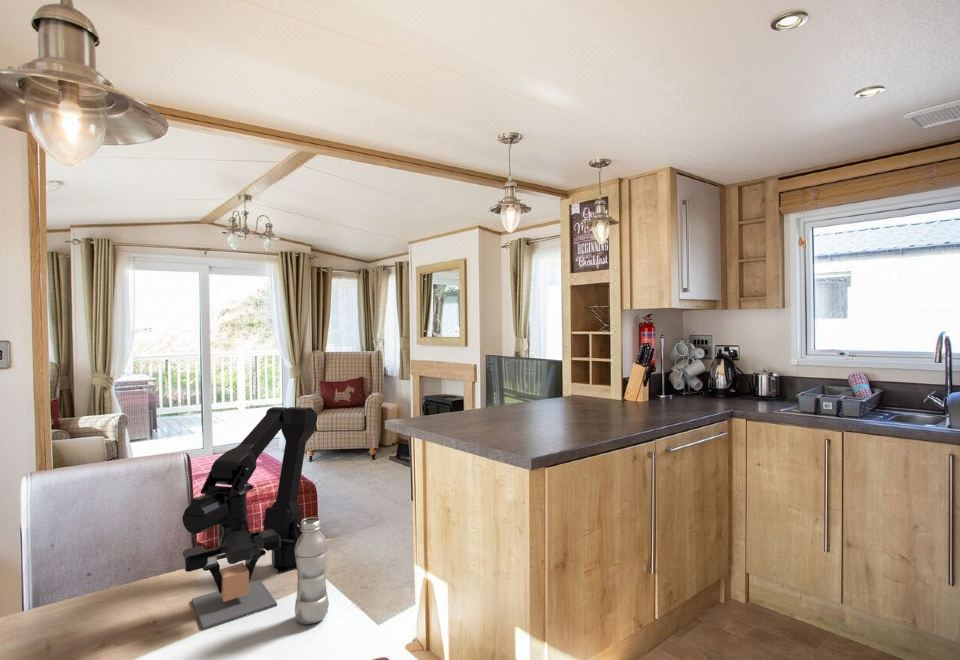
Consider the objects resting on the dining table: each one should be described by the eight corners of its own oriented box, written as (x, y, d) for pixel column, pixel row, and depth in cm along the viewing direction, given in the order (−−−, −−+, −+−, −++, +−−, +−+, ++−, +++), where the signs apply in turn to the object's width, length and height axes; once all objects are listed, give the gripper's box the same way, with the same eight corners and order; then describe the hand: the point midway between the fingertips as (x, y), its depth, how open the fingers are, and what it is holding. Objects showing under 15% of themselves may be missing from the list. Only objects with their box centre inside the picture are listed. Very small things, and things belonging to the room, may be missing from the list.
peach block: (243, 585, 115) (243, 562, 115) (249, 594, 111) (248, 570, 111) (218, 592, 112) (218, 569, 112) (223, 601, 108) (223, 577, 108)
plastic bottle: (287, 624, 103) (285, 523, 103) (313, 607, 109) (311, 512, 109) (311, 632, 100) (309, 529, 100) (336, 614, 106) (334, 517, 106)
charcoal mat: (259, 581, 121) (259, 578, 121) (277, 605, 110) (277, 603, 110) (191, 601, 113) (191, 598, 113) (203, 630, 102) (203, 626, 102)
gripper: (189, 539, 99) (191, 620, 99) (288, 516, 111) (289, 588, 111) (180, 522, 108) (182, 597, 108) (273, 502, 120) (274, 570, 120)
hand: (233, 588), depth 112 cm, fingers closed on peach block, 5 cm apart
